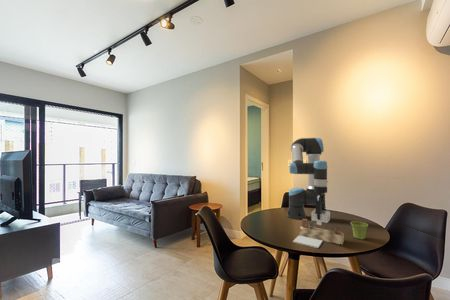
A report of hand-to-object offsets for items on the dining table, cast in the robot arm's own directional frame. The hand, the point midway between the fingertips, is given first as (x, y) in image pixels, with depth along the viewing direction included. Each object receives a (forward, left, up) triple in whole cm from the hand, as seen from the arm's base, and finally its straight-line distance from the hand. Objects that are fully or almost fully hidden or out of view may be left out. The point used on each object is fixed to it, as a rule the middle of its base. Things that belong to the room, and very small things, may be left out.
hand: (320, 222), depth 135 cm
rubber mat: (-5, -11, -10) cm, 15 cm away
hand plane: (0, 0, -10) cm, 10 cm away
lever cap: (0, 0, +2) cm, 2 cm away
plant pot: (+19, +15, -10) cm, 26 cm away
